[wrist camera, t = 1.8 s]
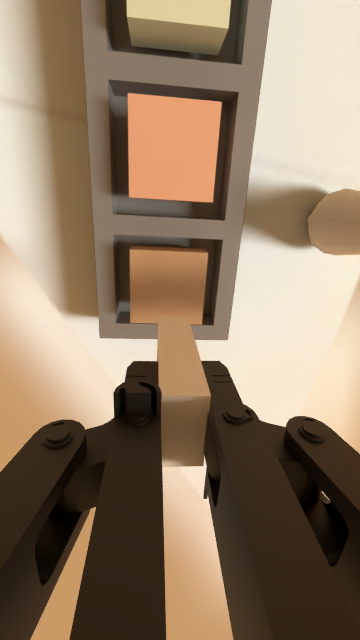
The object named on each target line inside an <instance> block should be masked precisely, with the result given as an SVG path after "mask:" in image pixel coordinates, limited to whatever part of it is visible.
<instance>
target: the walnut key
mask: <svg viewBox="0 0 360 640" xmlns="http://www.w3.org/2000/svg"><path fill="white" fill-rule="evenodd" d="M207 262H208V252H207V251H206V250H204V249H203V248H202V247H183V246H161V245H140V244H133V245H132V247H131V248H130V322H131V323H153V324H158V316H188V318H189V322H190V324H198V325H202V317H203V306H204V295H205V284H206V273H207Z"/></svg>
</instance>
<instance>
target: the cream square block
mask: <svg viewBox="0 0 360 640" xmlns="http://www.w3.org/2000/svg"><path fill="white" fill-rule="evenodd" d="M230 6H231V0H127V21H128V27H129V33H130V39H131V45H132V46H136V47H145V48H155V49H164V50H173V51H182V52H192V53H201V54H210V55H218V54H219V51H220V49H221V46H222V44H223V41H224V39H225V36H226V34H227V31H228V28H229V17H230Z"/></svg>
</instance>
